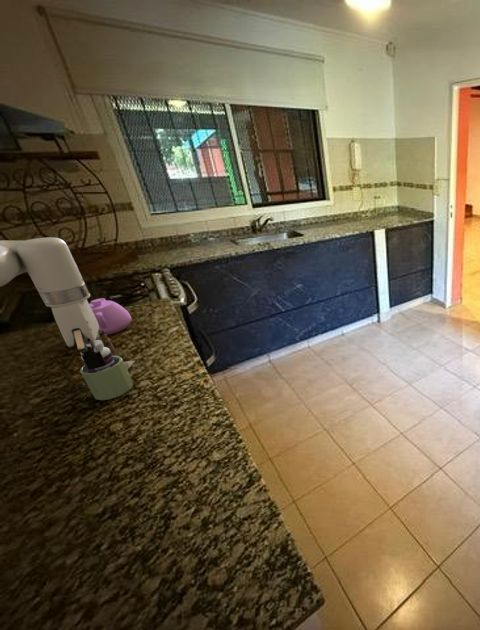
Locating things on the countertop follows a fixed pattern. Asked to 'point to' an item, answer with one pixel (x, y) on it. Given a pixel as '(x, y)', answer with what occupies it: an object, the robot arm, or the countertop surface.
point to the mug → (108, 381)
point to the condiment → (109, 345)
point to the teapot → (110, 315)
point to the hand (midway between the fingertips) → (98, 360)
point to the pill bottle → (105, 354)
